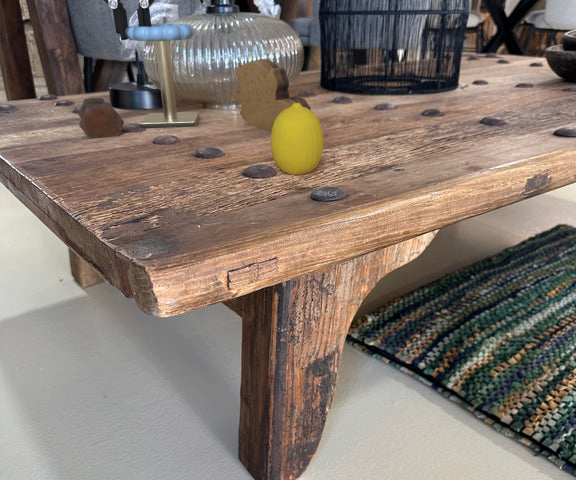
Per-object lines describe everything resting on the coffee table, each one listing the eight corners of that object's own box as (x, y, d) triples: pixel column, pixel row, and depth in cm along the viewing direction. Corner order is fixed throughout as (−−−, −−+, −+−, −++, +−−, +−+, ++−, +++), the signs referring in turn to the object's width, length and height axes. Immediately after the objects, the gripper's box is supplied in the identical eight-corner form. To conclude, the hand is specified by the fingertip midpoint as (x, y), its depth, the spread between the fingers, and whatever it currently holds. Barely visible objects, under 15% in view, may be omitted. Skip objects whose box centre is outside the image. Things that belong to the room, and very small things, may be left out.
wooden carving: (321, 142, 76) (322, 62, 71) (295, 148, 74) (294, 65, 69) (250, 123, 88) (247, 53, 83) (225, 128, 85) (220, 56, 80)
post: (141, 131, 84) (128, 41, 78) (149, 120, 91) (138, 37, 85) (195, 129, 84) (187, 40, 79) (199, 119, 92) (192, 36, 86)
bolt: (103, 134, 91) (112, 152, 78) (71, 120, 88) (75, 136, 76) (116, 99, 90) (128, 112, 77) (84, 84, 87) (91, 95, 74)
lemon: (278, 189, 58) (276, 109, 55) (267, 174, 63) (264, 99, 59) (329, 185, 59) (331, 105, 56) (315, 170, 64) (315, 96, 60)
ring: (121, 42, 78) (119, 27, 77) (133, 37, 86) (131, 24, 85) (192, 40, 78) (190, 26, 77) (197, 35, 87) (196, 22, 86)
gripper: (42, -121, 70) (71, 42, 78) (173, -123, 70) (188, 39, 79) (59, -111, 76) (85, 38, 85) (179, -113, 77) (193, 35, 86)
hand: (135, 38), depth 82 cm, fingers closed on ring, 2 cm apart
